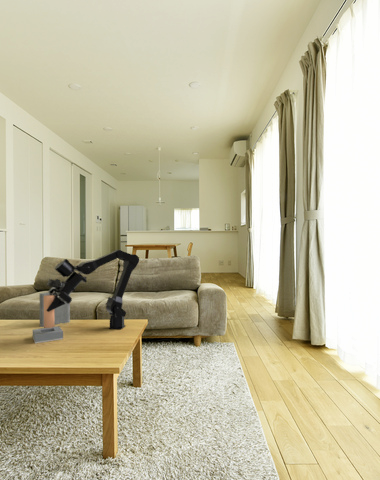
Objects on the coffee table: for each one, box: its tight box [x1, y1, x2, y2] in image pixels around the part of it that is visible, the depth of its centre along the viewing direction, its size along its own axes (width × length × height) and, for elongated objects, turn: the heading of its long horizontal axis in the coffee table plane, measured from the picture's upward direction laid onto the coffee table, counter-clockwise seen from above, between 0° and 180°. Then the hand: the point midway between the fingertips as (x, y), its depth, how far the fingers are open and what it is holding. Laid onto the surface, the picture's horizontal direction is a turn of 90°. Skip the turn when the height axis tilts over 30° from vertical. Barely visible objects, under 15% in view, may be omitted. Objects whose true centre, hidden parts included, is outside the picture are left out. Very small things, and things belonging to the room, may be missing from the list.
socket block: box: [32, 325, 64, 344], centre depth 143 cm, size 12×12×4 cm
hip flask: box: [39, 287, 71, 328], centre depth 171 cm, size 16×4×20 cm, turn 132°
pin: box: [43, 295, 56, 328], centre depth 140 cm, size 4×4×14 cm
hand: (45, 310), depth 140 cm, fingers closed on pin, 4 cm apart
